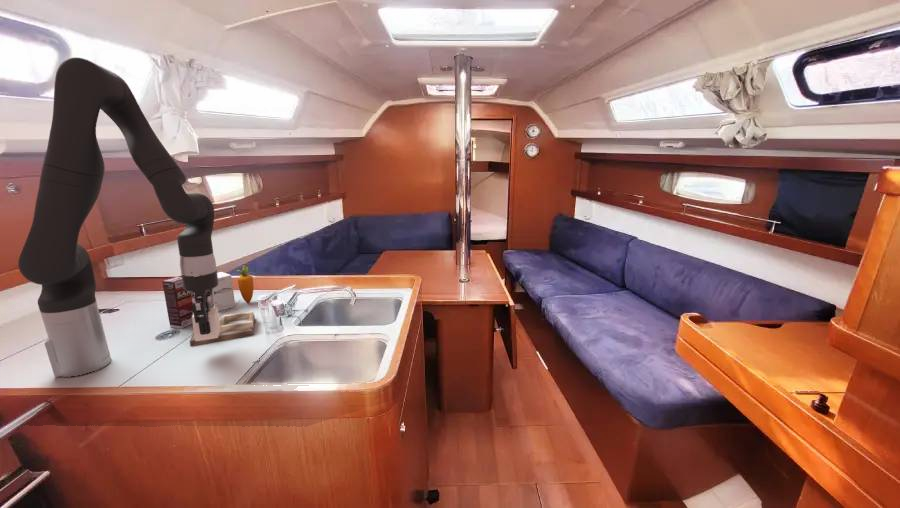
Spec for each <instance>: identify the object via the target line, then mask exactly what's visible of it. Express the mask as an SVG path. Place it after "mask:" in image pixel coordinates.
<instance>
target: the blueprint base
mask: <svg viewBox="0 0 900 508" xmlns="http://www.w3.org/2000/svg"><path fill="white" fill-rule="evenodd" d="M213 308H216V307H215V304H214V307H213ZM193 314H194V313H193ZM255 320H256V317H255V314H254V311H253V310H251V311H246V312H238V313H232V314H224V315H221V318H220V319H219V323H220V333H219V336H218V338H214V339H208V340H201V341H195V336H194V332H192V335H191V337H190V340H189V345H190V347H192V346H193V347H194V346H197V345H205V344H210V343H216V342H221V341H227V339H228V340H233V339H238V338H244V337H249V336H253V335H254V334H255V331H254V330H255V322H254V321H255Z"/></svg>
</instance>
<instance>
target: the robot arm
mask: <svg viewBox="0 0 900 508" xmlns="http://www.w3.org/2000/svg"><path fill="white" fill-rule="evenodd" d="M100 110H102V112H103V113H104V114H105V115H107V117H109V119H111V121H112V122H114V124H115V125H116V126H117V127H118V129H119V130H120V131H121V133H122V136H123V137H124V139H125V142H126V145H127V148H128V150H129V151H128V153H130V157H131V158H132V160H133V162H134V163H135V165H136V166H137V168H138V169H139V170H140V172H141V173H142V175H144V177H145V178H146V179H147V181H148V182H149V183H150V184H151V185H152V187H153V189H154V192H155V195H156V198H157V200H158V202H159V204H160V206H161V209H162V211H163V212H164V213H165V215H166V216H167V217H168V218H169V219H170V220H172V221H174V222H175V223H178V224H183V225H184V224H185V228H184V230H183V231H181V232H180V233H179V234H178V235H177V248H178V255H179V268H180V269H179V270H180V276H182V282H183V288H184V290H186V291H192V292H194V296H193V297H192V302H193V303H192V305H191V306H192V309H193V313H194V318H195V322H196V323H199V329H200V334H201V335H204V334H209V333H210V332H211V331H210V323H209V319H210V318H209V312H210V311H211V308H213V307H214V301H213V291H212V289H213V288H215V287H216V286H217V285H218V277H217V273H218V270H217V269H218V268H217V261H216V258H215V254H214V248H213V240H212V233H213V230H214V221H215V208H214V205H213V203H212V200H211V199H210V198H209V197H208V196H206V195H205V194H203V193H198V192H195V193H194V192H193V193H187V192H186V191H185V189H184V187H183V185H184V184H185V182H186V181H187V176H186V175H185V173H184V171H183V170H182V169H181V168H180V166H179V165H178V163H177V162H176V161H175V159H174V158H173V157H172V155H171V154H170V153H169V152H168V151H167V149H166V148H165V146H164V145H163V143H162V142H161V141H160V139H159V137H158V136H157V135H156V133H155V132H154V130H153V127H151V125H150V123H149V122H148V120H147V118H146V116H145V114H144V113H143V111H142V109H141V106H140V105H139V103H138V101H137V99H136V97H135V95H134V94H133V92H132V90H131V88H130V87H129V85H128V83H127V82H126V81H125V80H124V79H123V78H122V77H121V76H120V75H118V74H117V73H116V72H114V71H111V70H110V69H109V68H108V69H107V68H105V67H104V66H101V65H99V64H97V63H95V62H93V61H91V60H89V59H86V58H83V57H77V56H75V57H69V58H67V59H64V60H63V61H62V62H61V63H60V65H59V66H58V67H57V70H56V72H55V77H54V88H53V108H52V119H51V125H50V126H51V127H50V130H49V136H48V142H47V148H46V152H45V156H44V159H43V163H42V167H41V172H40V177H39V184H38V188H37V189H38V190H37V194H36V199H35V200H36V201H35V206H34V212H33V219H32V224H31V226H30V229H29V232H28V235H27V237H26V240H25V242H24V245H23V246H22V249H21V252H20V255H19V258H18V261H17V262H18V264H17V266H18V270H19V272H20V273H21V276H22V277H24V278H25V280H28V281H29V282H31V283H34V284H36V285H41V292H40V294H39V297H38V298H37V305H38V309H39V312H40V315H41V318H42V322H43V325H44V328H45V331H46V334H47V338H48V339H47V340H46V341H45V342H44V347H45V349H46V354H47V356H48V360H49V363H50V366H51V370H52V373H53V375H54V378H59V377H60V376H61V377H63V378H72V377H71V376H75V377H79V376H78V375H80V376H83V375H82V374H84V375H87V374H86V373H88V374H90V373H89V372H91V373H93V371H94V372H97V371H98V370H101V369H102V368H104V367H106V366H107V365H109V364H110V363H111V361H112V358H111V357H112V356H111V353H110V349H109V345H108V342H107V336H106V334H105V330H104V326H103V323H102V318H101V315H100V311H99V307H98V303H97V299H96V298H97V297H96V290H97V289H96V288H97V283H96V278H95V274H94V273H95V272H94V268H93V263H92V260H91V257H90V254H89V252H88V250H87V249H86V248H85V247H84V246H83V245H82V244H80V243H78V241H79V236H80V232H81V229H82V228H83V224H84V222H85V221H86V219H87V218H88V216H89V214H90V212H91V211H92V209H93V208H94V206H95V204H96V202H97V200H98V198H99V195H100V192H101V188H102V184H103V181H104V175H105V161H104V158H103V154H102V152H101V151H102V150H101V148H100V145H99V141H98V138H97V123H98V119H99V114H100ZM200 315H203V316H204V317H200ZM61 377H60V378H61Z"/></svg>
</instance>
